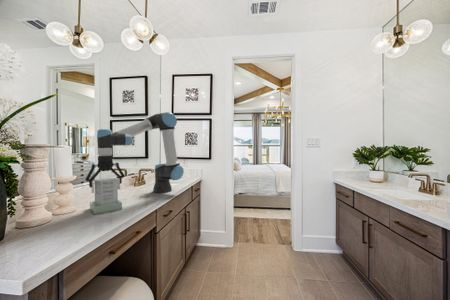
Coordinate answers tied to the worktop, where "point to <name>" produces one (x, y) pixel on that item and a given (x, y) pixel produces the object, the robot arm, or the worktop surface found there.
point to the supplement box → (106, 191)
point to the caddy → (105, 207)
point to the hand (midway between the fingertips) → (106, 190)
